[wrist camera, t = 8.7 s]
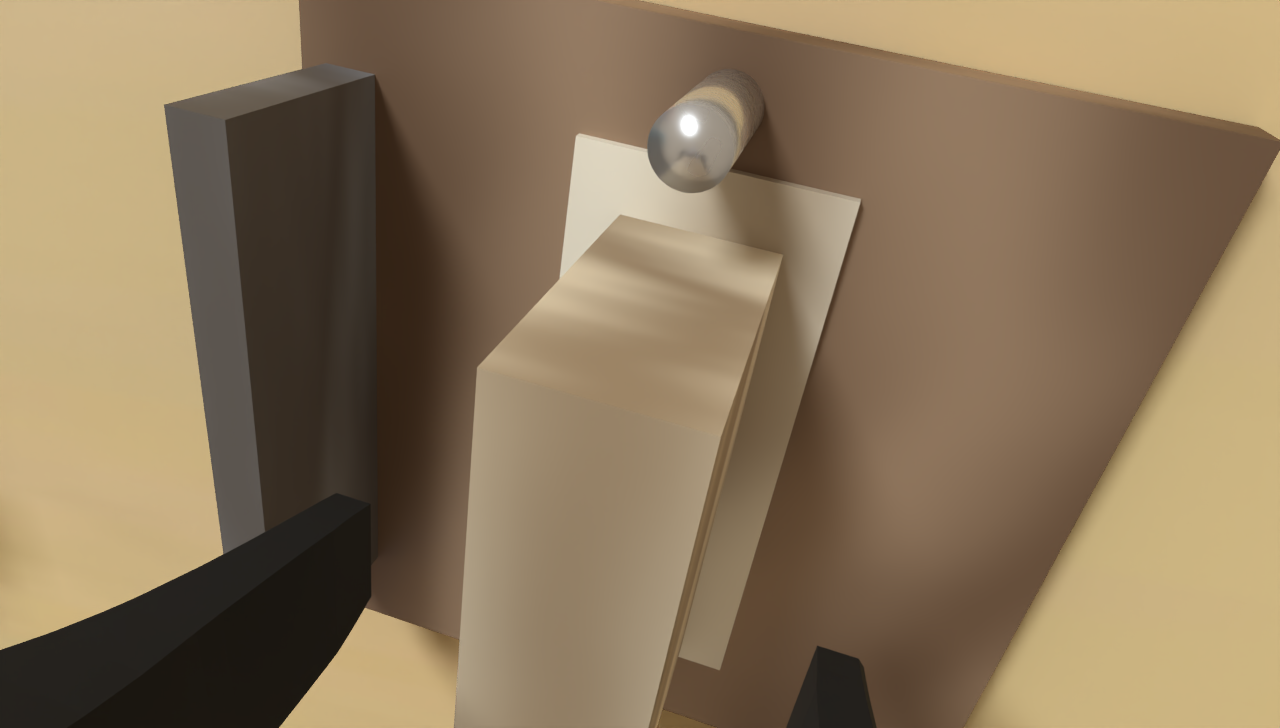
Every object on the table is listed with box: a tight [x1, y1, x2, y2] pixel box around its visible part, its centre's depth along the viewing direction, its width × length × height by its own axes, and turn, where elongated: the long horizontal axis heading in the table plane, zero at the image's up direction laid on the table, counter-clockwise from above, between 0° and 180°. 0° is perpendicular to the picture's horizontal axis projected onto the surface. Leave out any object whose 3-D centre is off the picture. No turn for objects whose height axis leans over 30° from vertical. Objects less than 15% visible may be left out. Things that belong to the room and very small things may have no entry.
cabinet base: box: [164, 0, 1280, 728], centre depth 16 cm, size 16×16×5 cm
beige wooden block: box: [454, 215, 783, 728], centre depth 15 cm, size 3×10×6 cm, turn 171°
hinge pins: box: [647, 69, 765, 193], centre depth 16 cm, size 1×15×3 cm, turn 171°
